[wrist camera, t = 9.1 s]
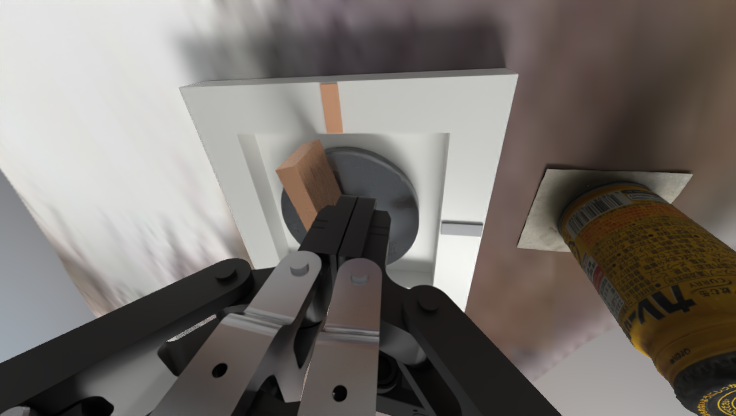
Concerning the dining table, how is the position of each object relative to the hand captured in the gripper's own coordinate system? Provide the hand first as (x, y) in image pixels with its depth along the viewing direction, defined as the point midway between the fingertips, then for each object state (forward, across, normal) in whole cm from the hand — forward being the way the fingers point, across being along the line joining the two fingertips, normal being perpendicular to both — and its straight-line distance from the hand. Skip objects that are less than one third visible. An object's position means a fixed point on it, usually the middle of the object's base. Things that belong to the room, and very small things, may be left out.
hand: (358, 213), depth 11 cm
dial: (+9, +2, +6) cm, 11 cm away
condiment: (+10, -16, +4) cm, 19 cm away
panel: (+10, +2, +6) cm, 11 cm away
